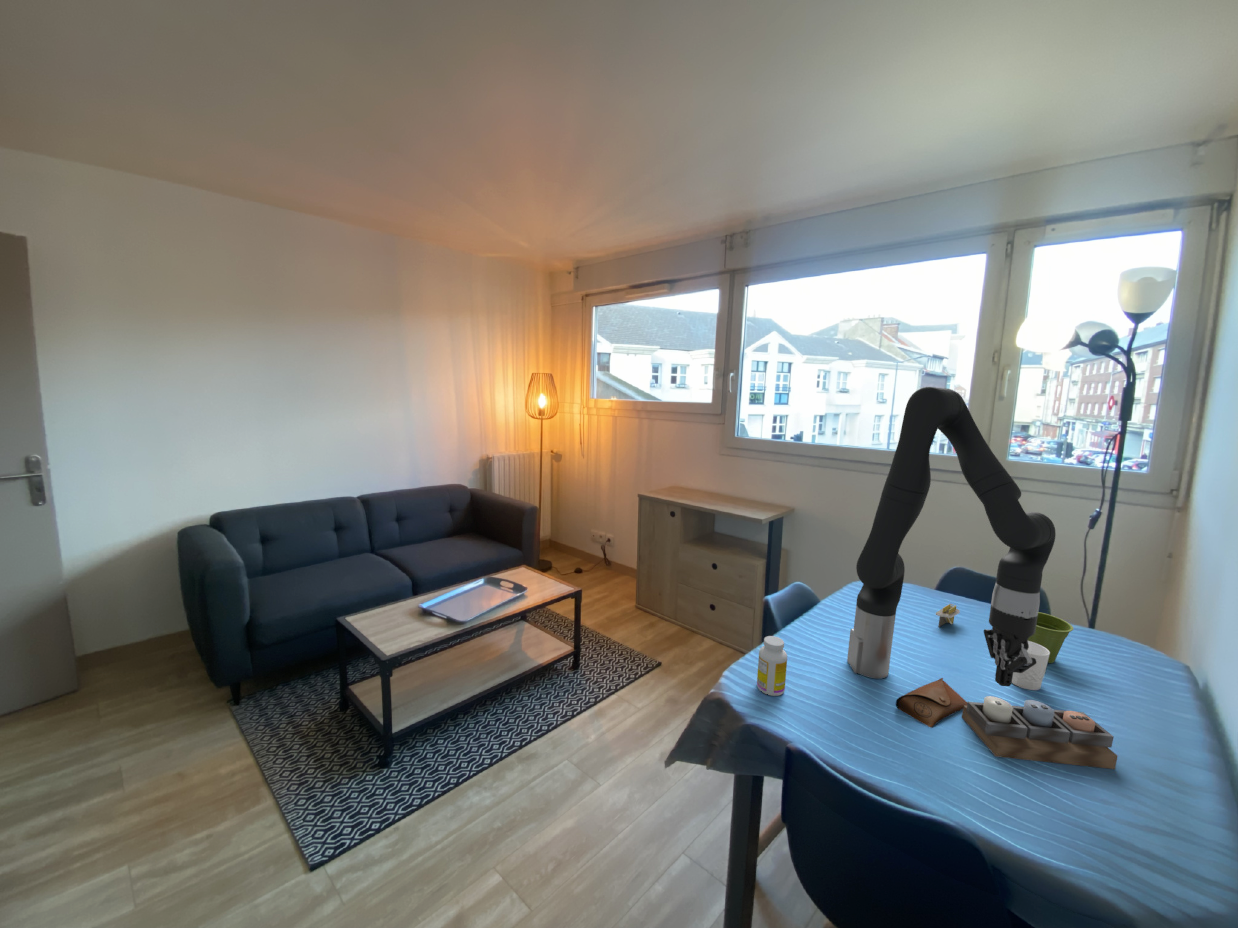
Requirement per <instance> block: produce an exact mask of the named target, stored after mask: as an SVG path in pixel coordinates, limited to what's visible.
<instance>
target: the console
mask: <svg viewBox="0 0 1238 928" xmlns="http://www.w3.org/2000/svg"><path fill="white" fill-rule="evenodd" d="M967 702H968V703H967V706H966V705H964V706H963V709H962V711H961V712H962V713H961V718H962V720H964V722H965V723H966V724H967V725H968V726H969V727H970V729H971V730H972V731H973V732H974V734H976V735H977V737H978V738H979V739H980V740H981V741H982V743H983V744H984V745H985V746H986V747H987V748H988V749H989V751H990V752H991V753H992V755H993V756H995V757H996V758H997V757H998V758H1007V759H1015V760H1016V759H1017V760H1025V761H1034V762H1035V761H1036V762H1045V763H1053V764H1064V765H1075V766H1082V767H1083V766H1084V767H1093V768H1101V769H1110V770H1111V769H1112V770H1115V769H1116V765H1117V760H1118V757H1119V755H1118V754H1116V753H1115V752H1114V751H1113V750H1112V749H1111V748H1112V747H1113V743H1114V737H1115V736H1113V735H1112V734H1111V733H1110V732H1109V731H1108V730H1106V729H1105V728H1104V727H1103V726H1101V725H1100V724H1098V723H1097V722H1096V721H1095V720H1094V719H1092V720H1093V721H1094V722H1095V728H1094V732H1086V731H1076V730H1074V729H1072V728H1071V727H1070V726H1069V725H1068V724H1067V723H1066V722H1064V721H1063V715H1064V712H1065V711H1066V710H1064V709H1063V710H1062V709H1061V710H1060V709H1053V710H1054V717H1053V723H1052V727H1050V728H1045V727H1039V726H1036V725H1034V724H1032V723H1030V722H1028V721H1027V720H1025V719H1024V718H1023V716H1022V713H1023V708H1024V706H1020V705H1019V706H1018V705H1011V706H1012V707H1013V710H1012V716H1011V721H1010V723H1008V724H1004V723H998V722H995V721H993V720H991V719H989V718H987V717H986V716H985V715H984V714H983V712H982V710H983V704H984V702H975V701H967ZM1077 712H1078V713H1081V714H1084V715H1086V716H1088V717H1089V718H1091V717H1090V716H1089V715H1087V714H1086V713H1085V712H1084V711H1083V712H1082V711H1077Z"/></svg>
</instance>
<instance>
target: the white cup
mask: <svg viewBox="0 0 1238 928" xmlns="http://www.w3.org/2000/svg"><path fill="white" fill-rule="evenodd" d="M1028 645H1029V648H1028V650H1027V652H1028V654H1029V656H1030V658H1035V659H1036V664H1035V665H1033V666H1032V667H1030V668H1029V669H1027V670H1026V671H1024V672H1023V673H1017V672H1013V676H1012V683H1011V684H1013V685H1015V686H1016V687H1019V688H1021V689H1024V690H1029V691H1038V690H1041V688H1042V683H1043V680H1044V677H1045V674H1046V671H1047V667H1048V659H1049V655H1050V652H1049V650H1048V649H1046V648H1045V647H1043V646H1041V645H1039V644H1037V643H1034V642H1031V641H1028Z"/></svg>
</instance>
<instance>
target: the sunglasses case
mask: <svg viewBox="0 0 1238 928" xmlns="http://www.w3.org/2000/svg"><path fill="white" fill-rule="evenodd" d="M943 679H944V678H943V677H941V678H939V679H937V680H935V681H932V682H929V683H927V684H923V685H922V686H920V687H918V688H915V689H914V690H911V691H909V692H907V693H906V694H904V695H901V696H899V697H898V698H897V699H896V700H895V706H896V709H898V710H900V711H901V712H903V713H904V714H906V715H907V716H909V717H911V718H913V719H915V720H916V721H918V722H919V723H921V724H923V725H925V726H927V727H928V728H930V729H932V728H933V727H935V725H937V723H939V722H941V721H942V720H944V719H946V718H948V717H949V716H952V715H954V714H956V713H958V712H960V711H963V706H964V705H966V706H967V703H968V702H969V701H966V700H965V699H964V697H962V696H961V695H960V694H959V693H958V692H957V691H955V690H954V688H952V687H951V686H950V685H949V684H948V683H947V682H946V681H944V680H943Z"/></svg>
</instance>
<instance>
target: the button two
mask: <svg viewBox="0 0 1238 928" xmlns="http://www.w3.org/2000/svg"><path fill="white" fill-rule="evenodd" d="M1023 707H1024V708H1023V713H1022V716H1023V718H1024V719H1025V720H1027V721H1028V722H1030V723H1032V724H1034V725H1036V726H1039V727H1045V728H1050V727H1052V723H1053V717H1054V710H1055V709H1053V708H1052V707H1051V706H1049V705H1047V704H1046V703H1043V702H1041V701H1038V700H1033V699H1025V701H1024V702H1023Z"/></svg>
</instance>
